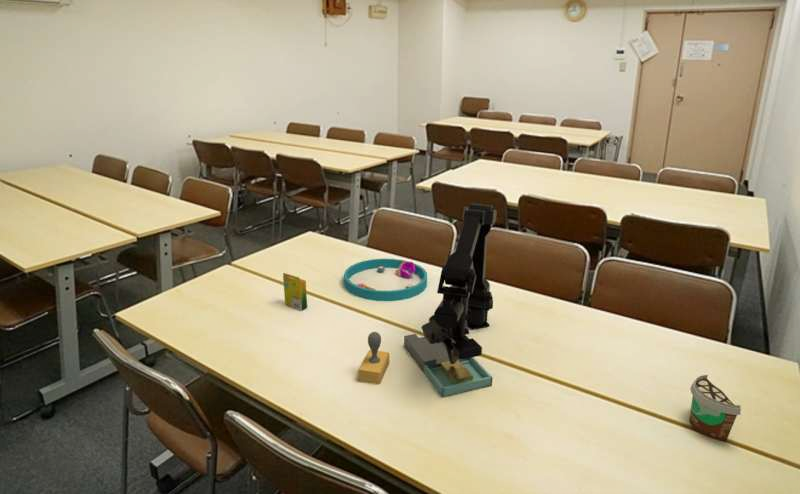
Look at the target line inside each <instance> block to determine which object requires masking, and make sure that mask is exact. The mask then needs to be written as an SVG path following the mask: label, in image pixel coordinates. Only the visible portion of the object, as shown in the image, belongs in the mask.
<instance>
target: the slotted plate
mask: <svg viewBox="0 0 800 494" xmlns="http://www.w3.org/2000/svg"><path fill="white" fill-rule="evenodd" d="M403 347H404V349H405V350H406V351H407V353H408V354H409V355H410V356H411V358H412V360H413V361H414V362H415V363H416V365H417V366H418V368H419V369H420V370H421V371H422V373H423V374H424V365H427V366H428V368H429V369H431V368H436V367H440V366H441V363H443V362H448V361H449V357H448V353H447V349H446V345H445V343H444V342H440V343H435V344H430V343H429V341H428V340H427V339H426V338H425V336H420V337H419V336H418V335H417V334H416V333H413V334H407V335H404V336H403ZM458 360H459V361H460V362H464V361H468V360H469V358H467V359H459V358H458Z"/></svg>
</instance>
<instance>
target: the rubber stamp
mask: <svg viewBox="0 0 800 494" xmlns="http://www.w3.org/2000/svg"><path fill="white" fill-rule="evenodd" d="M367 344H368V346H369V348H370V349H369V350H368V351H367V353H366V355H365V356H364V359H362V362H361V364H360V366H359V368H358V372H357V373H358V382H359V381H361V382H360V383H366V382H367V383H366V384H372V383H373V385H380V384H381V383H382V380H383V379H384V376H385V373H386V372H387V369H388V368H389V365H390V352H389V351H383V350H379V349H380V346H381V344H382V336H381V334H380V333H379V332H377V331H372V332H371V333H369V334H368V336H367Z"/></svg>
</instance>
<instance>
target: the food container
mask: <svg viewBox="0 0 800 494" xmlns="http://www.w3.org/2000/svg"><path fill="white" fill-rule="evenodd" d="M708 376H709V375H708V374H702V375H699V376H698V377H696V378H695V380H694V381H693V382H692V384H691V386H690V393H691V395H692V398H691V405H690V406H691V407H690V413H689V419H688V420H689V421H688V422H689V423H690V425H691V426H692V428H693V429H694V430H696V431H697V432H698V433H700V434H701V435H703V436H705V437H708V438H710V439H714V440H719V441H727V440H728V438H729V435H730V434H731V431H732V428H733V426H734V424H735V421H736V418H737V416H740V415H741V411H742V408H741V405H740V404H734V403H733V402H732V400H730V399H729V397H728V396H727V395H726V394H725V393H724V391H722V390H721V389H720V388H718V387H717V386H716V385H714V384H713V383H712V382H711V380H709V379H708Z"/></svg>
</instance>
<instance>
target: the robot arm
mask: <svg viewBox="0 0 800 494" xmlns="http://www.w3.org/2000/svg"><path fill="white" fill-rule="evenodd" d="M462 211H463V213H462V221H463V224H462V227H461V231H460V234H459V238H458V240H457V245H456V248H455V250H454V252H452V253H451V254H450V255H449V256H448V257H447V260H446V262H445V264H444V265H442V268H441V271H440V277H439V282H438V287H437V291H436V292H437V293H436V294H441V295H443V296H442V300H441V301H440V302H439V304H438V306H437V307H436V309H435V310H434V312H433V314H432V315H431V316H430V317H429V318H428V322H426V323H425V324H423V325H421V331H422V333H423V337H425V338H426V339H427V340H428V341H429V343H430V344H435V343H440V342H444V343H445V345H446V349H447V353H448V357H449V361H450V363H451V364H455V363H456V361H457V360H458V358H459V359H467V358H472V357H474V358H476V357H481V356H482V354H483V353H482V352H483V347H482V346H481V345H480V344H479V342H478V341H476V340H475V339H474V338H469V337H468V336H467V335H469V334H470V330H477V329H481V328H487V327H490V323H488V312H490V310H492V309H493V308H494V296H493V294H492V292H491V291H490V290H491V289H490V288H491V285H490V282H489V281H488V279H487V278H486V265H487V247H488V235H489V233H490V232H491V230H492V228H493V226H494V224H495V223H496V221H497V214H498V213H497V209H496V208H495V207H494V206H493V205H491V204H490V205H489V204H481V203H474V202H473V203H470V204H469V206H464V207H463V210H462ZM444 284H445V285H444ZM446 285H448V286H446ZM467 327H468V328H469V329H468V328H467Z"/></svg>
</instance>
